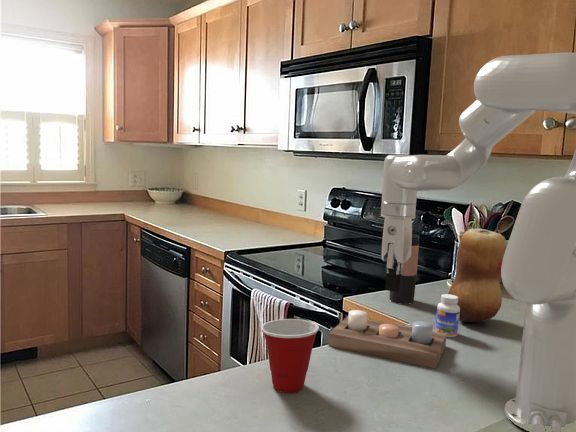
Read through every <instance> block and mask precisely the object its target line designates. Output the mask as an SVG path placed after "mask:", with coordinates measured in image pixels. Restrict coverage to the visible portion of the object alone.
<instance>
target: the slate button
mask: <svg viewBox="0 0 576 432" xmlns="http://www.w3.org/2000/svg"><path fill="white" fill-rule="evenodd" d="M411 327H412V338H411V341H412V342H414V343H420V344H425V345H431V343H432V331H434V325H433V324H432V323H430V322H427V321H414V322H412V326H411Z"/></svg>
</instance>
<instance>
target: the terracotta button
mask: <svg viewBox="0 0 576 432" xmlns="http://www.w3.org/2000/svg"><path fill="white" fill-rule="evenodd" d="M392 324H393V323H391V324H381V325H380V326H379V336H384V337H389V338H394V339H397V338H398V332H399V327H397V326H396V325H397V324H396V325H392Z"/></svg>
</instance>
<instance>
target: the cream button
mask: <svg viewBox="0 0 576 432" xmlns="http://www.w3.org/2000/svg"><path fill="white" fill-rule="evenodd" d="M348 316H349V317H348V330H353V331H358V332H366V330H367V319H368V312H366V311H364V310H359V309H354V310H353V309H352V310H350V311H348Z"/></svg>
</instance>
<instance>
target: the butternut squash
mask: <svg viewBox="0 0 576 432" xmlns="http://www.w3.org/2000/svg"><path fill="white" fill-rule="evenodd" d="M458 244H459V245H458V249H457V253H456V266H455V277H454V280H453V282H452V284H451V285H450V287H449V291H448V293H447V294H451V295H455V296H457V297H458V303H457V305H458V306H459V307H460V315H459V320H461V321H462V322H465V323H474V324H475V323H478V324H479V323H483V322H485V321H489V320H490V319H493V318H494V317H495V316H496V315H497V314H498V312H499V311H500V309H501V307H502V302H503V299H502V298H503V297H502V289H501V285H500V278H501V266H502V261H503V257H504V254H505V251H506V248H507V241H506V238H505V236H504V235H502V234H501V233H498V232H495V231H492V230H488V229H484V228H470V229H467V230H466V231H465V232H463V234H462V235H461V238H460V241H459V243H458Z"/></svg>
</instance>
